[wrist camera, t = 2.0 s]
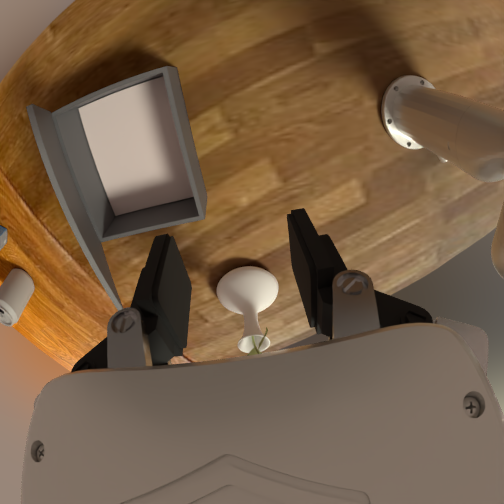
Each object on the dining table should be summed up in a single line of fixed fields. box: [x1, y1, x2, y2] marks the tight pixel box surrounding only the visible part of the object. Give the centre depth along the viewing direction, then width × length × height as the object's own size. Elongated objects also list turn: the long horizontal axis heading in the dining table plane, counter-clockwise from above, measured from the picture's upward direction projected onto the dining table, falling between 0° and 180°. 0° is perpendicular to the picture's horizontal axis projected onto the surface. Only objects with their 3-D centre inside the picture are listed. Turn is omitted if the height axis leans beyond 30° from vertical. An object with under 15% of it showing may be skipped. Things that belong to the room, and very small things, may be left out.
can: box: [0, 269, 34, 326], centre depth 43 cm, size 8×8×12 cm
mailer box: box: [51, 66, 207, 242], centre depth 33 cm, size 16×20×7 cm
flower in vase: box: [217, 266, 278, 356], centre depth 43 cm, size 13×11×25 cm
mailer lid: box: [26, 104, 123, 311], centre depth 25 cm, size 17×20×1 cm
